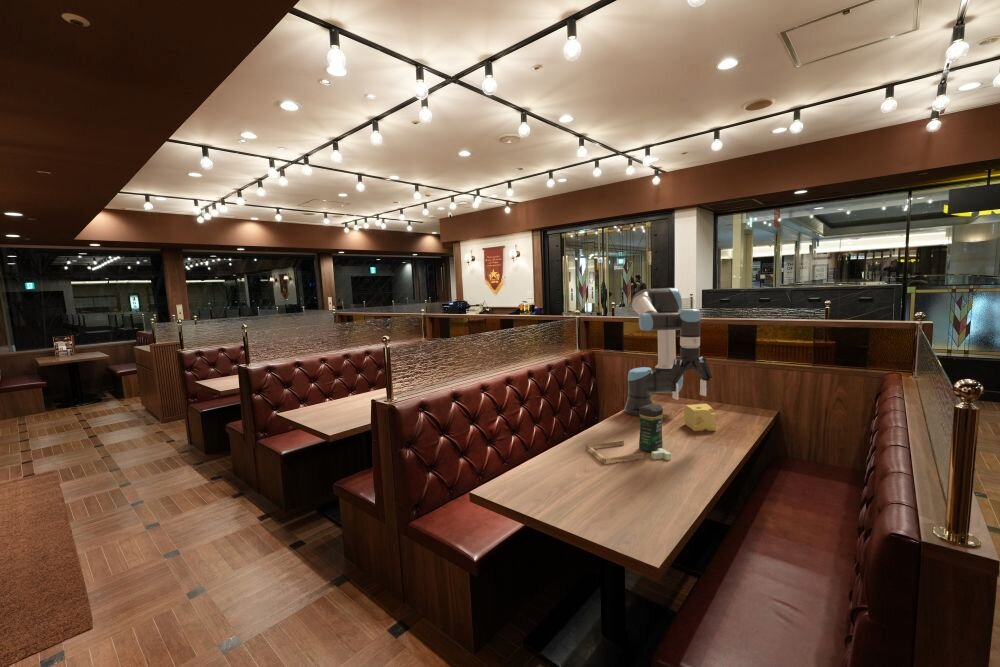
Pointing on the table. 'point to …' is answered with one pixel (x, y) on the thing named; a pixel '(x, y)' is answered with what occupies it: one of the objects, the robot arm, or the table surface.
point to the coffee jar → (651, 427)
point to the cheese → (700, 417)
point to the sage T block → (661, 454)
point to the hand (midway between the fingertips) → (689, 397)
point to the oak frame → (612, 459)
